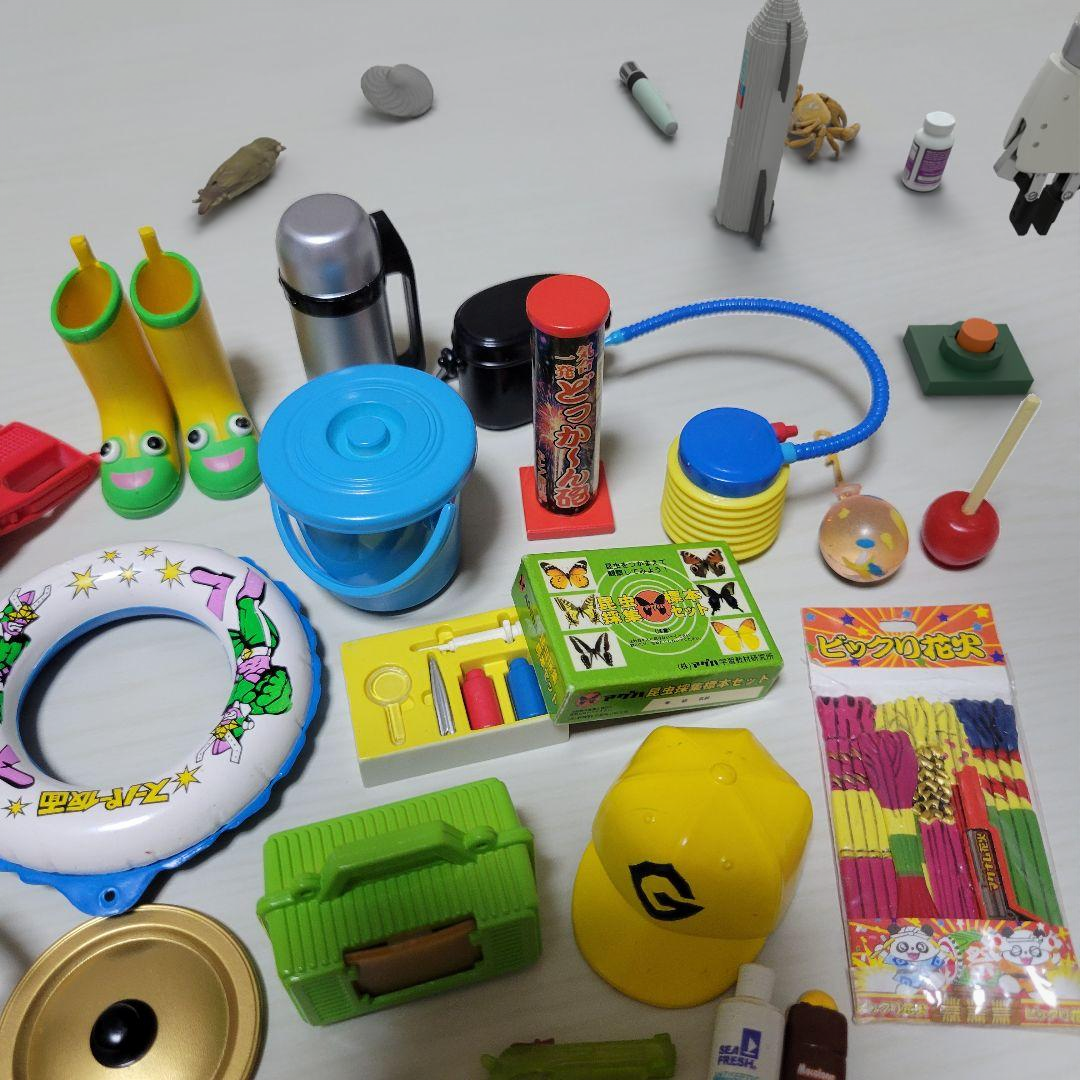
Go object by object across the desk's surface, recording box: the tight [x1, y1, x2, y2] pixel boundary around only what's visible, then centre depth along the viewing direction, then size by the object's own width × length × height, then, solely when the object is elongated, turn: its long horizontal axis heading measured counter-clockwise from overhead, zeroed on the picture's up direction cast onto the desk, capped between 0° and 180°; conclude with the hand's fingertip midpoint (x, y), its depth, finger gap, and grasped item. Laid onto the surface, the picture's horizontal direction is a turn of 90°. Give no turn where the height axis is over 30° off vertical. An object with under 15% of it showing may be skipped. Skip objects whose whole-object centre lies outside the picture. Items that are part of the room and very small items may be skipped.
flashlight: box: [618, 60, 679, 137], centre depth 149 cm, size 3×4×20 cm
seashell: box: [360, 63, 434, 119], centre depth 149 cm, size 12×6×10 cm
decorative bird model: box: [191, 136, 287, 216], centre depth 135 cm, size 5×20×5 cm, turn 151°
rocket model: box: [714, 0, 809, 248], centre depth 120 cm, size 14×7×30 cm, turn 11°
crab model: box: [784, 82, 861, 161], centre depth 143 cm, size 16×13×6 cm
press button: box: [956, 317, 998, 353], centre depth 110 cm, size 4×4×2 cm
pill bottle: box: [901, 111, 956, 192], centre depth 133 cm, size 5×5×10 cm
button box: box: [903, 320, 1035, 397], centre depth 112 cm, size 12×10×4 cm
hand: (1027, 227), depth 98 cm, fingers closed
